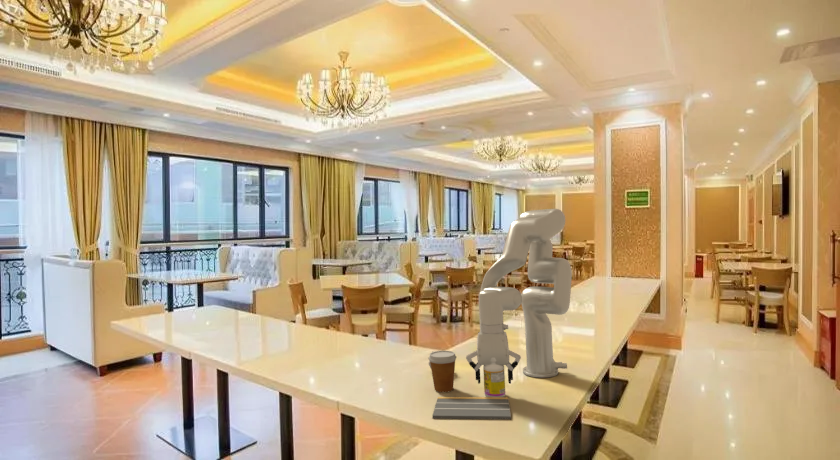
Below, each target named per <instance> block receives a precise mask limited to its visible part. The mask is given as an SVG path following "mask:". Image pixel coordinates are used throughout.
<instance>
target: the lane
mask: <svg viewBox="0 0 840 460" xmlns="http://www.w3.org/2000/svg"><path fill="white" fill-rule="evenodd" d="M509 401H510V400H509V397H507V396H504V397H486V396H437V399H436V403H435V406H434V409H433V413H432V419H452V420H453V419H454V420H455V419H458V420H461V419H464V420H512V416H511V407H510V402H509Z"/></svg>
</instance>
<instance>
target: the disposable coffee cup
mask: <svg viewBox="0 0 840 460" xmlns="http://www.w3.org/2000/svg"><path fill="white" fill-rule="evenodd" d="M434 351H435V350H434ZM427 358H428V360H429V361H430V364H431V368H430V370H431V375H432V380H433V381H432V382H433V388H434V391H435V390H436V391H435V392H437V391H438V393H449V392H452V391H453V390H454V383H455V382H454V381H455V371H456V370H455V368H456V360H457V356H456V353H455V352H454V351H451V350H436V351H435V352H430V353H429V357H427ZM429 361H428V362H429ZM451 390H452V391H451ZM448 391H449V392H448Z"/></svg>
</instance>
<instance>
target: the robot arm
mask: <svg viewBox="0 0 840 460" xmlns="http://www.w3.org/2000/svg"><path fill="white" fill-rule="evenodd" d="M565 224H566V215H565V214H564V212H563V211H562V210H561V209H559V208H545V209H533V210H527V211H524V212H522V213H520V215H519V218H518V219H516V220H513V221H512V222H511V224H510V225H509V228H508V230H507V231H508V232H507V236H506V239H505V243H504V247H503V250H502V254H501V256H500V258H499V259H497V260H496V261H495V262H494V263H493V264H492V265H491V267H490V268H489V269H488V270H487V271H486V272H485V274H484V276H483V280H482V282H481V285H480V290H479V292H478V311H479V313H478V315H479V316H478V317H479V332H478V333H477V337H476V338H477V339H476V350H475V351H472V352H470V353H469V354H467V355H466V357H465V359H466V361H467V362H468V364H469V366H470V367H471V368H472V369H473V370H474V372H475V380H476V381H477V384H478V385H479V384H481V367H482V366H484V365H491V364H492V361H491V358H495V359H496V361H495V363H496V364H497V365H504V366H505V367H506V368H507V379H508V380H507V381H508V384H512V381H514V373H513V371H514V369H515V368H517V366H518V365H519V363H520V360H521V359H522V356H521V355H520V354H518V353H516V352H515V351H512V350H510V348H509V339H508V335H507V332H506V330H509V325H508V324H505V323H504V312H505V311H513V310H517V309H518V308H519V307H520V306H521V308H522V312H523V317H524V318H523V319H524V328H525V329H524V332H525V333H524V334H525V352H526V366H525V367H523V368H522V374H523V375H526V376H528V377H532V378H540V379H541V378H553V377H556V376H557V375H559V369H562V370H563V369H565V370H566V369H568V363H567V362H562V361H555V360H554V349H553V347H554V346H553V331H552V330H553V327H552V322H551V320H550V318H549V316H548V315H557V316H558V315H559V316H560V315H565V314H566V313H567V312H568V311H569V309H570V303H571V294H572V293H571V291H572V277H573V276H572V275H573V274H572V273H573V272H572V267H571V264H570V262H569V261H568V259H565V258H563V257H553V250H554V248H553V246H554V245H553V242H552V238H553V237H555V236H556V235H558V234H559V233H561V232H562V230H563V229H564V228H565ZM527 260H528V263H527ZM526 263H527V277H528V279H529V281H530V282H532V283H535V284H549V285H553V287H552V286H551V287H550V286H529V287H526V288H524V289H523V290H522V291H519V290H518V289H517V288H516V287H509V286H497V285H498V283H499V282H500V280H502V278H503V277H505V276H506V275H507V274H509V273H512V272H515V271H516V270H518V269H520V268H522V267H523V266H525V265H526ZM475 357H477V358H476V359H477V362H476V363H475V362H474V360H473V358H475ZM510 357H512V358H514V361H513V362H510Z"/></svg>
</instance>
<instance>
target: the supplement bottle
mask: <svg viewBox="0 0 840 460" xmlns="http://www.w3.org/2000/svg"><path fill="white" fill-rule="evenodd" d="M491 361H492V364H491V365H482V366H483V369H482V370H483V385H484V386H483V387H484V388H483V390H484V391H483V392H484V397H506V380H505V379H506V378H505V365H497V364H496V363H495V361H496V359H495V358H491Z"/></svg>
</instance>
